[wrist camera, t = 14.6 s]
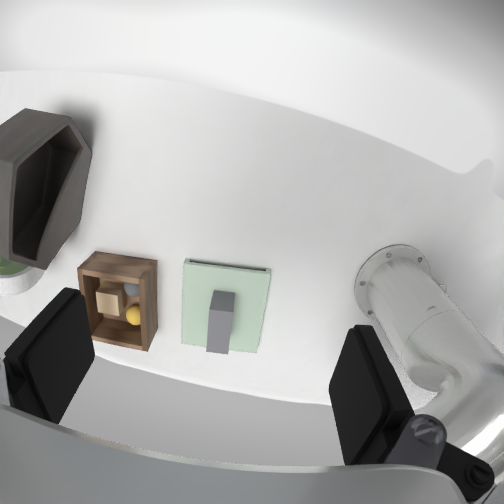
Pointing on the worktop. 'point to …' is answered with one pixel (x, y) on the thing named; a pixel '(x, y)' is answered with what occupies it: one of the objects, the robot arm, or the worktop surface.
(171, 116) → the worktop surface
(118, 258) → the wooden box
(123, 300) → the beech cube
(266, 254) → the worktop surface
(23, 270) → the cutout
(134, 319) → the ball mustard
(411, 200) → the worktop surface
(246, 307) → the lid
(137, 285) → the ball grey
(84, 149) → the planter
